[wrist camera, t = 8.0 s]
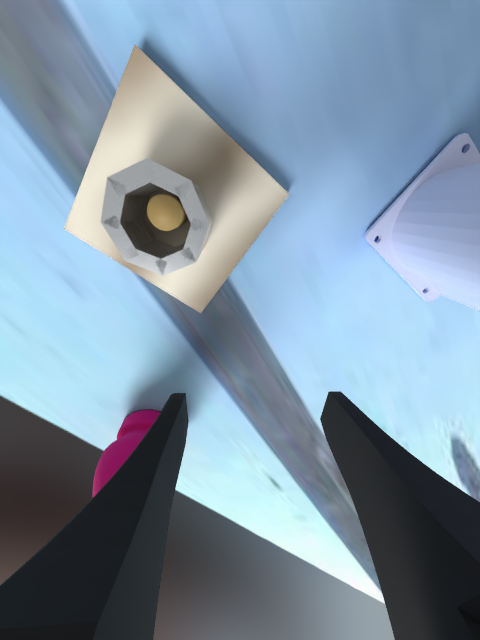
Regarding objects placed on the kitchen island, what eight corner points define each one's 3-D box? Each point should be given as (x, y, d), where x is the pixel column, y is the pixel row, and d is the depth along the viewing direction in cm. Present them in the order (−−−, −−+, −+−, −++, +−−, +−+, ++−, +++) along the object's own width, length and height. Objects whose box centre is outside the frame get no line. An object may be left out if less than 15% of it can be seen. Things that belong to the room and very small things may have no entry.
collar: (221, 241, 16) (220, 252, 12) (158, 267, 17) (140, 285, 13) (189, 159, 14) (176, 143, 10) (116, 193, 14) (80, 190, 11)
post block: (286, 194, 16) (304, 191, 12) (201, 309, 19) (196, 332, 16) (140, 53, 12) (104, -10, 8) (71, 227, 16) (26, 234, 12)
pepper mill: (114, 440, 27) (-105, 899, 9) (124, 399, 24) (-175, 969, 6) (173, 450, 28) (84, 859, 11) (189, 414, 25) (103, 897, 8)
